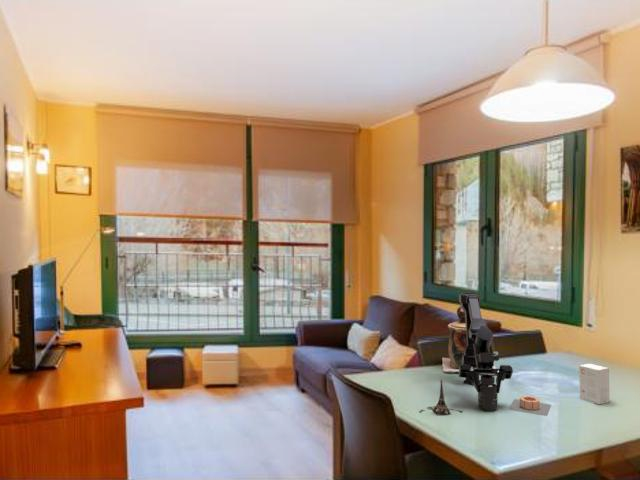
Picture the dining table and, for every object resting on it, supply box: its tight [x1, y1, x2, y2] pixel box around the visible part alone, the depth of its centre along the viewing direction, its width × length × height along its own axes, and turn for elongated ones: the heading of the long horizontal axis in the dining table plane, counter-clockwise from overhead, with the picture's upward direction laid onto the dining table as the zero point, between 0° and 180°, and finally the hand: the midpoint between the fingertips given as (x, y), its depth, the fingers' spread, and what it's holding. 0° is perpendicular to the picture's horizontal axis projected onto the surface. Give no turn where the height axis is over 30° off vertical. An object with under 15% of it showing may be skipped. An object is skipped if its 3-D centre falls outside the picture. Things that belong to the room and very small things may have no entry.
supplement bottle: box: [477, 374, 499, 413], centre depth 175 cm, size 7×7×12 cm
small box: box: [578, 363, 611, 405], centre depth 183 cm, size 8×6×13 cm
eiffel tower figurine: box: [418, 377, 464, 417], centre depth 173 cm, size 15×10×13 cm
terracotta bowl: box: [519, 395, 541, 410], centre depth 176 cm, size 7×7×3 cm
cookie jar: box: [441, 305, 497, 376], centre depth 231 cm, size 25×25×32 cm
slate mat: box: [507, 398, 552, 417], centre depth 176 cm, size 13×13×1 cm
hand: (488, 392), depth 174 cm, fingers closed on supplement bottle, 7 cm apart
